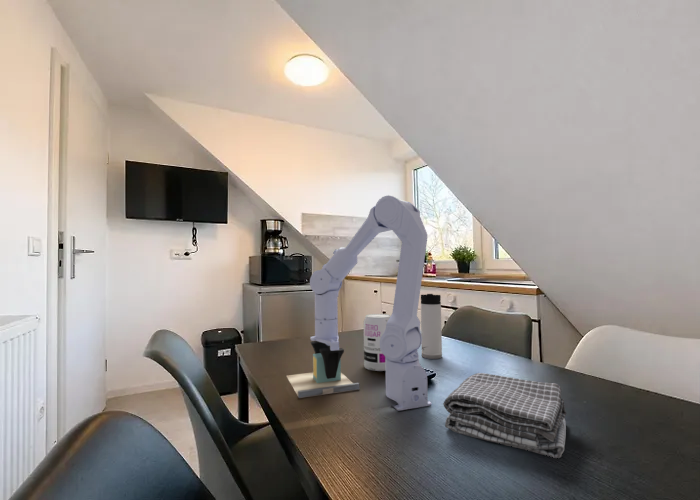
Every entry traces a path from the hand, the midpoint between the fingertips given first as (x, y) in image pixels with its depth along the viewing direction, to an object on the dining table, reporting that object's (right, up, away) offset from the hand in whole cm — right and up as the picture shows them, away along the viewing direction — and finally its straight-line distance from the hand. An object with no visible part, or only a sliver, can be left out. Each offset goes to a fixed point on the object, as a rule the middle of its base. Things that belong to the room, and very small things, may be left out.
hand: (326, 373), depth 87 cm
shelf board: (-1, -2, -2) cm, 3 cm away
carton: (0, -1, 0) cm, 1 cm away
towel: (+34, -2, -25) cm, 42 cm away
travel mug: (+32, -3, +23) cm, 39 cm away
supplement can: (+14, -3, +10) cm, 17 cm away
